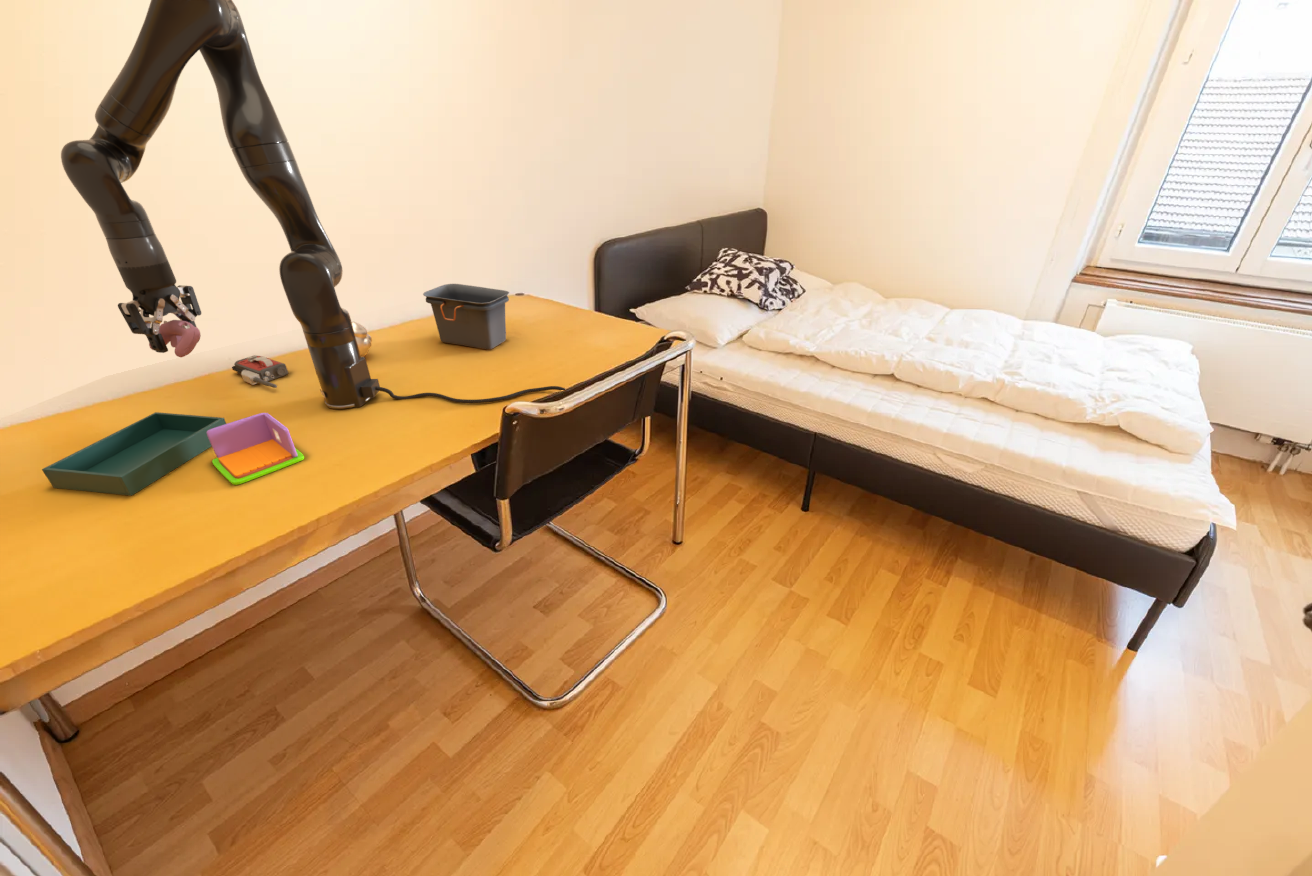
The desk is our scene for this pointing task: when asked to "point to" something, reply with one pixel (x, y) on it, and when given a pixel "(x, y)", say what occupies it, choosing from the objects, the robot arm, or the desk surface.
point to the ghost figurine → (362, 338)
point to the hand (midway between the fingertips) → (178, 345)
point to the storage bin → (469, 314)
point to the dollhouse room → (252, 448)
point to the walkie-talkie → (260, 370)
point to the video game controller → (180, 336)
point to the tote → (134, 454)
